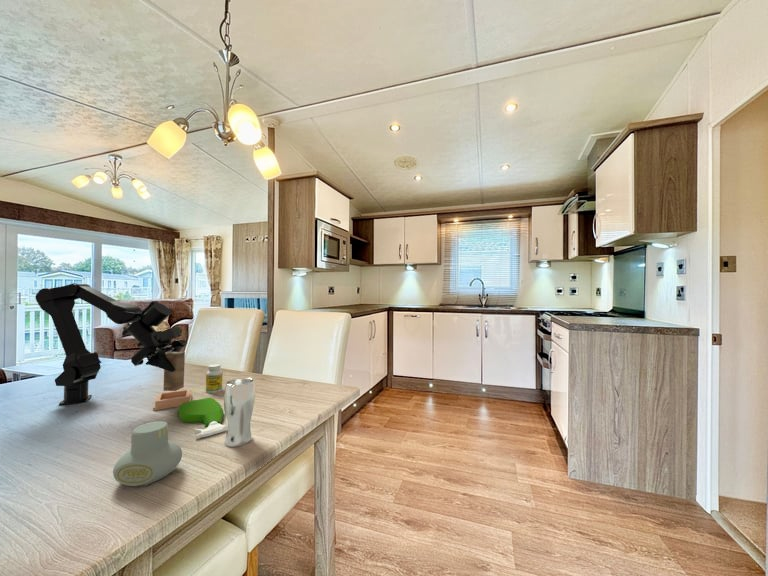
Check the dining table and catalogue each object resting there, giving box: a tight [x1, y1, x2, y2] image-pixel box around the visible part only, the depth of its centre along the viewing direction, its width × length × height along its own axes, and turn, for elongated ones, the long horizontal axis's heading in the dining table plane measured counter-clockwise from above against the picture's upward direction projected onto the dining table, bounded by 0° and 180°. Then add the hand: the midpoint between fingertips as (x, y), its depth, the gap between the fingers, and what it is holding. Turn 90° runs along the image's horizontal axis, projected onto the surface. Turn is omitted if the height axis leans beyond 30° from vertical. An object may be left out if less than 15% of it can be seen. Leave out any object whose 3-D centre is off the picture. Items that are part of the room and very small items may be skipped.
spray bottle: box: [177, 397, 227, 440], centre depth 87 cm, size 3×11×24 cm
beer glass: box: [223, 377, 256, 448], centre depth 75 cm, size 7×7×15 cm
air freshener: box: [112, 420, 183, 487], centre depth 60 cm, size 11×8×10 cm
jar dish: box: [152, 388, 193, 411], centre depth 100 cm, size 10×10×2 cm
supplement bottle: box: [205, 363, 223, 394], centre depth 112 cm, size 5×5×10 cm
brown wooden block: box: [163, 351, 186, 392], centre depth 100 cm, size 4×4×12 cm
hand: (178, 369), depth 100 cm, fingers closed on brown wooden block, 4 cm apart
